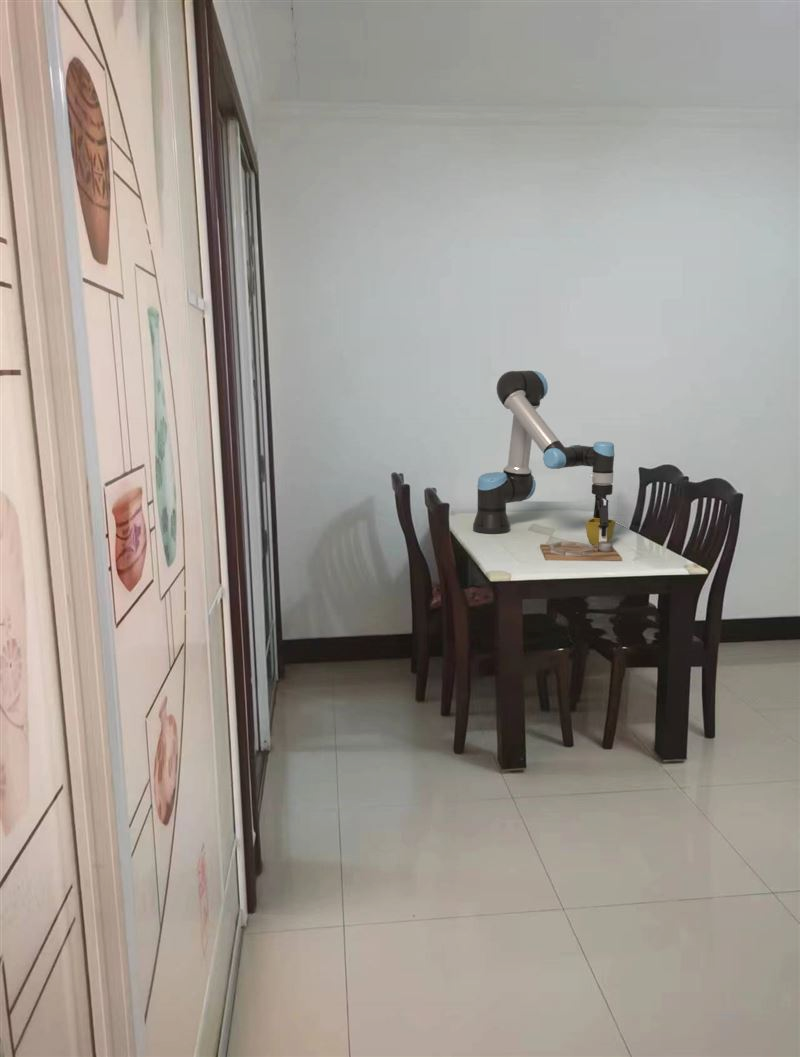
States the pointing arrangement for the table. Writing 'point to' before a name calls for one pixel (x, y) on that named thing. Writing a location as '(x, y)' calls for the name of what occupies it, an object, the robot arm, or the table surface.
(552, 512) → the table surface
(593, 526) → the flower pot
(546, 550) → the carrier board
